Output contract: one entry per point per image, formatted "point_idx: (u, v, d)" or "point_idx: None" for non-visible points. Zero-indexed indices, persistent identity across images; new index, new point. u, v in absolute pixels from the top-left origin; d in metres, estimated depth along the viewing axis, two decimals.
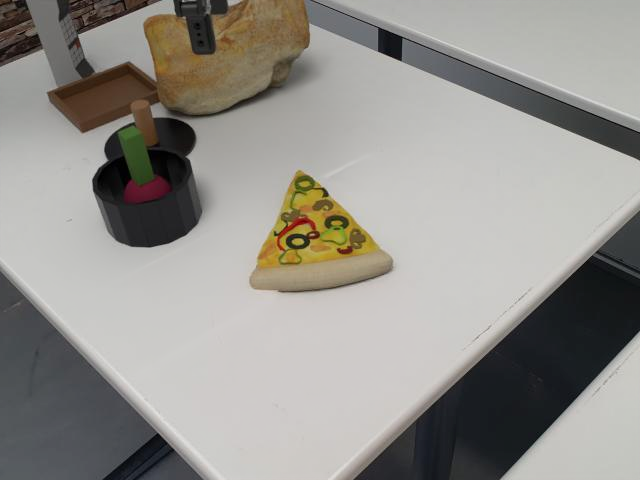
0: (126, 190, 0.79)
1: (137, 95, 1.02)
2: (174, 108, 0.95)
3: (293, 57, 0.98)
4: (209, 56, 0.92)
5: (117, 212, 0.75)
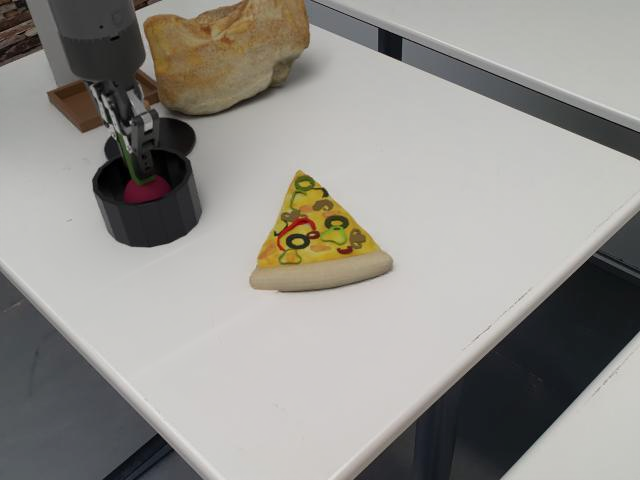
0: (126, 190, 0.79)
1: None
2: (174, 108, 0.95)
3: (293, 57, 0.98)
4: (209, 56, 0.92)
5: (117, 212, 0.75)
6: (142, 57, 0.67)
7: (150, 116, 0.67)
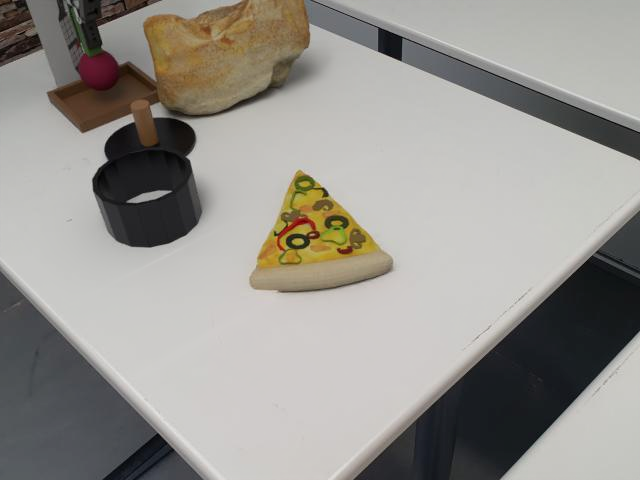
0: (79, 62, 0.97)
1: (137, 95, 1.02)
2: (174, 108, 0.95)
3: (293, 58, 0.98)
4: (209, 56, 0.92)
5: (117, 212, 0.75)
6: None
7: None
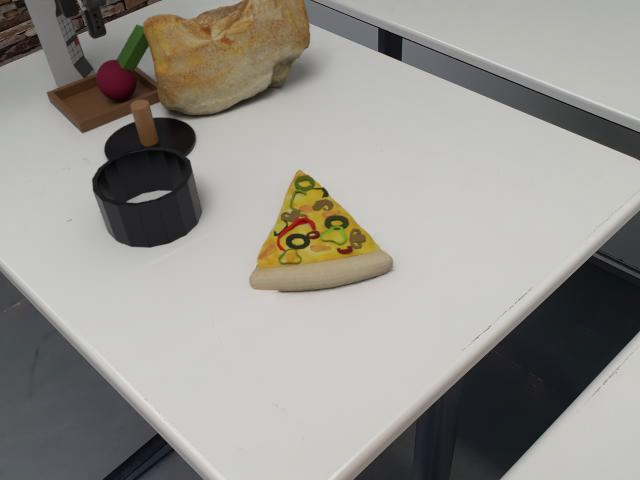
0: (107, 64, 0.97)
1: (137, 95, 1.02)
2: (174, 108, 0.95)
3: (293, 58, 0.98)
4: (209, 56, 0.92)
5: (117, 212, 0.75)
6: None
7: None
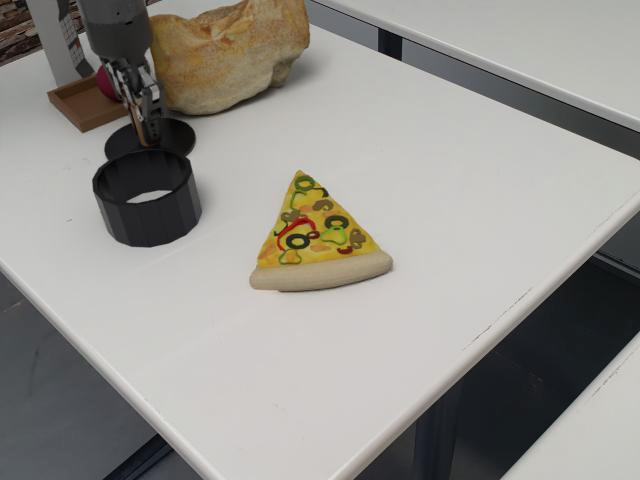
0: None
1: None
2: (174, 108, 0.95)
3: (293, 58, 0.98)
4: (209, 56, 0.92)
5: (117, 212, 0.75)
6: (151, 39, 0.82)
7: (157, 87, 0.82)
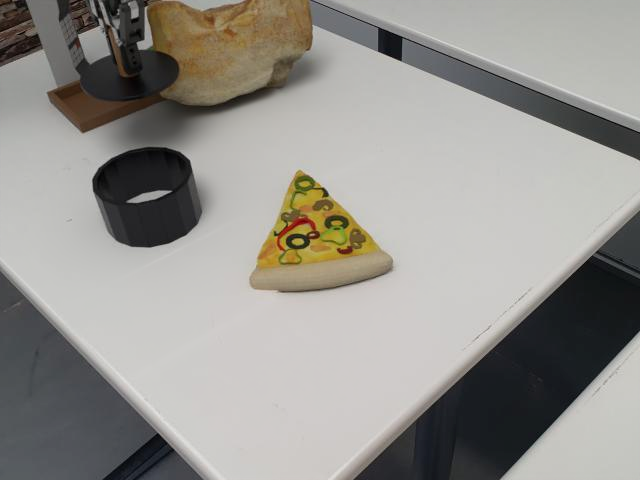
0: None
1: None
2: (171, 96, 0.94)
3: (294, 58, 0.98)
4: (211, 46, 0.91)
5: (117, 212, 0.75)
6: None
7: (136, 3, 0.75)
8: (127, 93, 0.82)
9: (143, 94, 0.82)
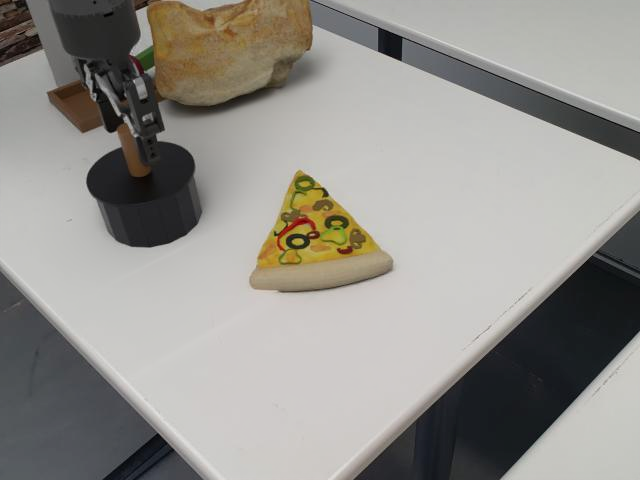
0: None
1: None
2: (171, 96, 0.94)
3: (294, 58, 0.98)
4: (211, 46, 0.91)
5: (117, 212, 0.75)
6: (137, 35, 0.66)
7: (141, 77, 0.64)
8: (138, 198, 0.74)
9: (156, 200, 0.74)
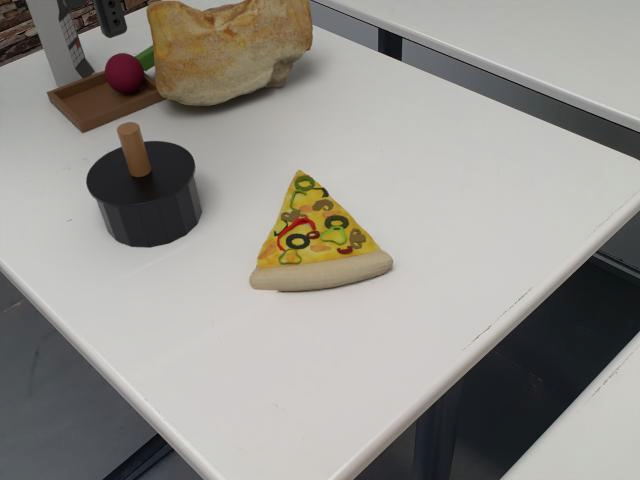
0: (125, 53, 1.00)
1: (137, 95, 1.02)
2: (171, 96, 0.94)
3: (294, 58, 0.98)
4: (211, 46, 0.91)
5: (117, 212, 0.75)
6: None
7: None
8: (138, 198, 0.74)
9: (156, 200, 0.74)
